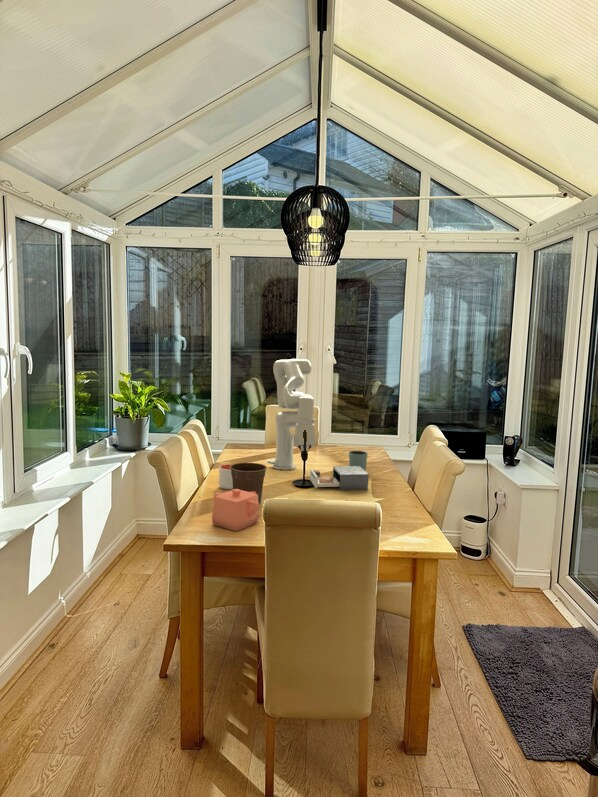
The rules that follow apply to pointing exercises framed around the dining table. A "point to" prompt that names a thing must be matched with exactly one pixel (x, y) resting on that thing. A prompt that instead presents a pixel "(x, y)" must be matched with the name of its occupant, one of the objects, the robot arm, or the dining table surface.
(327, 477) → the pink domed disc
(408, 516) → the dining table surface
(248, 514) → the teapot
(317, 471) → the walnut block
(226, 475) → the cup
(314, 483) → the white drawer
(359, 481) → the housing
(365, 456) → the grey green tumbler
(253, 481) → the plant pot
